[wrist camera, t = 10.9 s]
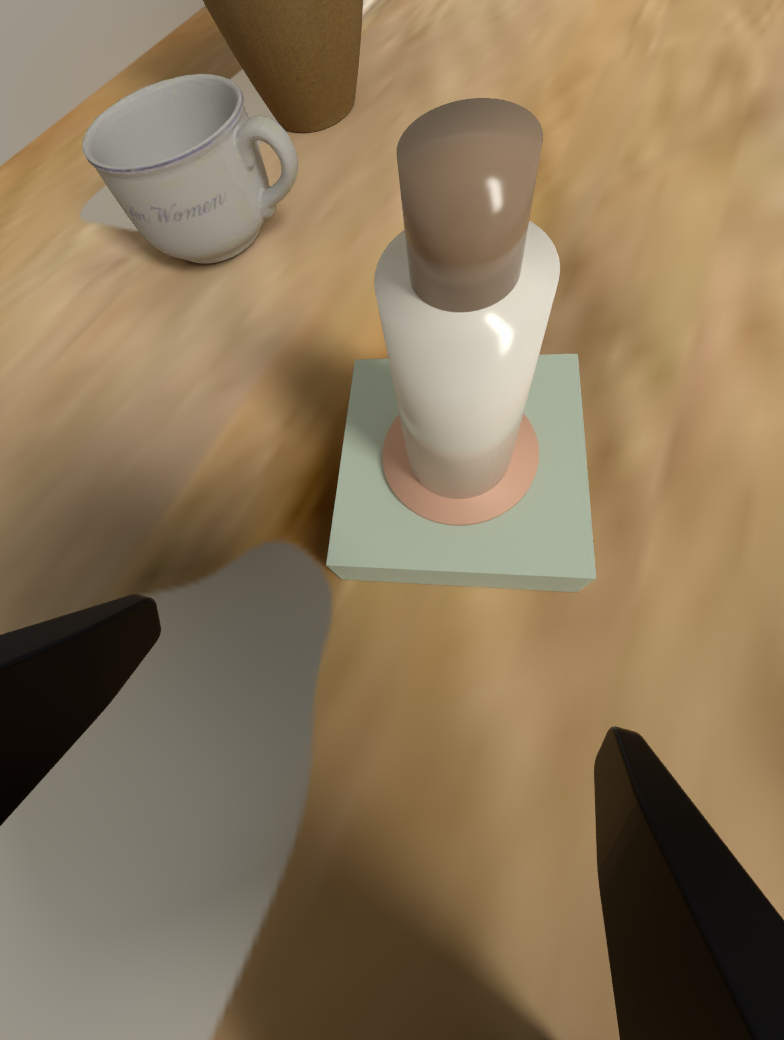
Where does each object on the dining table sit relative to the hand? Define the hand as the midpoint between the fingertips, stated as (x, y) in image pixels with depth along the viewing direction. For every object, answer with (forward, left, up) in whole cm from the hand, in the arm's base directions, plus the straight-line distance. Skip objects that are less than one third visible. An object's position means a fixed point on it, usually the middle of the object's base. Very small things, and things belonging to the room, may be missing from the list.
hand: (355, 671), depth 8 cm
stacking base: (+11, -2, -14) cm, 17 cm away
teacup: (+32, +16, -14) cm, 38 cm away
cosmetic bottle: (+11, -2, -10) cm, 15 cm away
